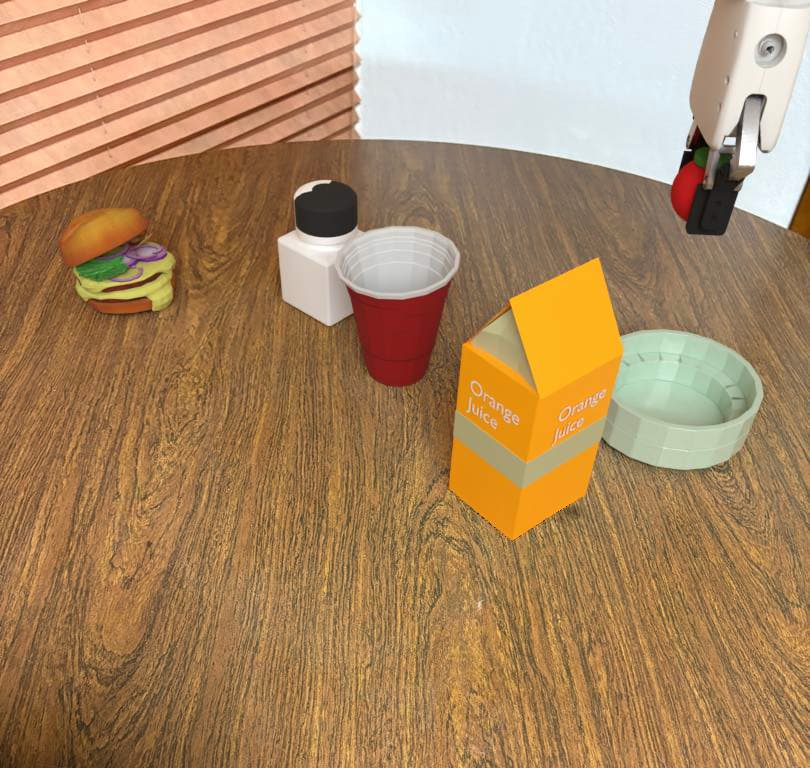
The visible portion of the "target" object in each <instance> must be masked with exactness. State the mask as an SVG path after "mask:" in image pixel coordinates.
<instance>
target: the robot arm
mask: <svg viewBox="0 0 810 768" xmlns="http://www.w3.org/2000/svg"><path fill="white" fill-rule="evenodd" d="M711 10H712V11H711V12H710V17H709V19H708V22H707V25H706V30H705V33H704V36H703V39H702V42H701V45H700V50H699V53H698V57H697V60H696V64H695V68H694V72H693V76H692V80H691V85H690V90H689V99H688V100H689V109H690V111H691V113H692V122H691V125H690V128H689V131H688V134H687V136H686V140H685V149H686V150H683V153H682V157H681V160H680V164H679V167H678V171H677V173H678V172H679V171H680V170H681V169H682V168H683V167H684V166H685V165H686V164H688V163H689V162H691V161H693V160H694V155H695V152H696V150H697V149H699V148H703V147H710V151H709V156H708V161H707V166H706V170H705V175H704V180H703V184H699V183H698V185H697V188H696V192H695V195H694V199H693V202H692V205H691V209H690V212H689V216H688V219H687V222H686V223H685V227H684V229H685V232H686V234H688V235H693V236H695V235H696V236H715V237H716V236H717V237H720V236H721V237H722V236H723V235H725V233H726V232H727V229H728V226H729V223H730V221H731V216H732V214H733V211H734V208H735V205H736V202H737V199H738V196H739V192H741V190H742V189H743V186H744V181H745V180H746V178H747V177H748V176H750V175H751V174H752V173H753V172H754V171H755V168H756V164H757V153H758V150H759V151H760V152H761V153H762V154H770V153H771V152H772V151H773V150H774V149H776V148H775V147H776V146H777V143H778V141H779V138H780V134H781V131H782V128H783V124H784V122H785V118H786V115H787V112H788V108H789V105H790V102H791V98H792V96H793V92H794V88H795V85H796V81H797V79H798V75H799V72H800V68H801V63H802V60H803V57H804V53H805V49H806V45H807V41H808V36H809V31H810V0H714V3H713V6H712V9H711ZM726 138H735V143H734V144H725V141H726ZM720 154H721V155H733V158H732V159H731V160H730V162H729V163H723V164H722V165H721V166H720V167H719V168H718V163H719V158H720ZM717 168H718V169H717Z"/></svg>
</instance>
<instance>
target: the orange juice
mask: <svg viewBox="0 0 810 768" xmlns="http://www.w3.org/2000/svg"><path fill="white" fill-rule="evenodd" d="M508 300H509V302H508V303H507V304H506V305H505V306H504V307H503V308H502V309H501V310H499V312H498V313H497V314H496V315H495V316H493V317H492V318H491V319H490V320H489V321H488V322H487V323H486V324H485V325H484V326H483V327H481V328H480V329H479V330H478V331H477V332H476V333H475V334H474V335H473V336H472V337H471V338H469V339H468V340H467V341H466V342H464V343H462V346H461V356H460V367H459V376H458V386H457V387H458V388H457V398H456V407H455V408H456V409H455V411H454V421H453V431H452V436H453V437H452V438H453V440H452V449H451V460H450V461H451V462H450V469H449V470H450V471H449V481H448V490H449V489H450V490H451V491H453V493H455V494H456V495H457V496H459V497H460V498H461V499H462V500H463V501H464V502H466V503H467V504H468V505H470V506H471V507H472V508H473V509H474V510H475V511H477V512H478V513H479V514H480V515H481V516H483V517H484V518H485V519H486V520H488V522H490V523H491V524H492V525H494V527H496V528H497V529H498V530H500V531H501V532H502V533H504V535H506V536H507V537H508V538H510V540H514V539H515V538H517V537H519V536H520V535H522V536H521V537H523V536H525V535H526V534H528V533H529V532H531V531H532V530H534V529H535V528H537V527H538V526H540V525H541V524H542V523H544V522H546V521H547V520H545V519H546V518H549V517H550V516H552V515H553V514H555V513H556V512H558V511H559V512H558V513H560V512H561V511H563V510H564V509H565V508H567V507H569V506H570V505H572V504H573V503H575V502H577V501H578V500H580V499H581V498H583V497H584V496H586V495H587V490H588V487H589V484H590V481H591V480H590V479H591V475H592V472H593V468H594V464H595V460H596V457H597V453H598V450H599V446H600V441H601V440H602V433H603V430H604V426H605V422H606V418H607V412H608V408H609V404H610V400H611V397H612V393H613V389H614V385H615V381H616V378H617V374H618V370H619V366H620V363H621V359H622V355H623V353H624V349H623V345H622V342H621V338H620V336H621V334H620V331H619V328H618V323H617V320H616V316H615V313H614V309H613V305H612V301H611V297H610V294H609V291H608V287H607V283H606V280H605V276H604V272H603V268H602V265H601V261H600V257H599V256H598V257H596V258H593V259H591V260H588V261H587V262H585V263H583V264H581V265H579V266H576V267H574V268H573V269H570V270H568V271H566V272H564V273H562V274H560V275H558V276H555V277H553V278H551V279H549V280H547V281H545V282H542V283H541V284H538V285H537V286H534V287H532V288H530V289H528V290H526V291H524V292H522V293H520V294H517V295H516V296H514V297H511V298H509V299H508ZM450 493H451V494H452V495H454V494H453V493H452V492H450ZM456 498H457V499H458V500H460V499H459V498H458V497H456ZM577 499H578V500H577ZM574 501H575V502H574ZM464 502H462V503H463V504H464V505H466V504H465V503H464ZM569 504H570V505H569ZM566 506H567V507H566ZM468 508H469V509H470V510H472V509H471V508H470V507H468ZM563 508H564V509H563ZM561 509H562V510H561ZM560 510H561V511H560ZM474 513H475V514H476V515H478V514H477V513H476V512H474ZM558 513H556V514H555V515H557V514H558ZM555 515H553V516H555ZM481 516H479V517H480V518H481V519H482V520H484V519H483V518H482V517H481ZM553 516H552V517H553ZM552 517H550V518H549V519H551V518H552ZM543 520H545V521H544V522H542V521H543ZM485 522H486V523H487V524H489V523H488V522H487V521H485ZM540 522H542V523H541V524H539V523H540ZM537 524H539V525H538V526H536V525H537ZM534 526H536V527H535V528H533V527H534ZM491 527H492V528H493V529H495V528H494V527H493V526H491ZM531 528H533V529H532V530H530V529H531ZM528 530H530V531H529V532H527V531H528ZM497 532H498V533H499V534H501V533H500V532H499V531H497ZM525 532H527V533H526V534H524V535H523V533H525ZM503 537H504V538H505V539H507V538H506V537H505V536H503ZM521 537H519V538H518V539H520V538H521ZM518 539H516V540H515V541H517V540H518ZM515 541H513V542H511V541H509V542H510V543H512V544H513V543H514V542H515Z"/></svg>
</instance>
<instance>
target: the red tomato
mask: <svg viewBox="0 0 810 768" xmlns="http://www.w3.org/2000/svg"><path fill="white" fill-rule="evenodd" d="M709 151H710V147H703V148H699V149H697V150H696V152H695V155H694V160H693V161H691V162H689V163H688V164H686V165H685V166H684V167H683V168H682V169H681V170H680V171H679V170H678V171H679V172H678V171H677V174H676V175H675V177H674V179H673V181H672V184H671V187H670V202H671V206H672V208H673V210H674V212H675V213H676V215H677V216H678V217H679V218H680V220H683V221H684V222H686V223H687V219H688V216H689V212H690V209H691V205H692V202H693V199H694V195H695V192H696V188H697V185H698V183H699V184H703V180H704V175H705V170H706V166H707V161H708V156H709ZM733 156H734V155H721V154H720V158H719V163H718V168H719V167H720V166H721V165H722V164H723V163H729V162H730V160H731V159H732V158H733ZM718 168H717V169H718Z"/></svg>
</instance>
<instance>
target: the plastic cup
mask: <svg viewBox="0 0 810 768" xmlns="http://www.w3.org/2000/svg"><path fill="white" fill-rule="evenodd" d="M364 232H365V233H363V234H361V235H358V236H356V237H354V238H352V239H350V240H349V241H348V242H347V243H346V244H345V245H344V246H343V247H342V248H341V249H340V250H339V251H338V253H337V257H336V260H335V264H334V265H335V268H336V270H337V272H338V275H339V277H340V279H341V281H342V282H343V283H344V284H345V285H346V287H347V291H348V293H349V296H350V299H351V304H352V308H353V316H354V317H353V318H354V321H355V327H356V330H357V335H358V339H359V342H360V344H361V349H362V354H363V359H364V364H365V366H366V369H367V371H368V374H369V376H370V377H371V378H372V379H373V380H375V381H376V382H377V383H380V384H382V383H383V384H382V385H385V386H387V385H389V386H388V387H398V388H400V387H405V386H411V385H413V384H416V383H417V382H419V381H421V380H422V379H423V378H424V376H425V375H426V374H427V373H426V372H427V370H429V365H430V362H431V356H432V354H433V353H432V352H433V349H434V348H435V344H436V340H437V336H438V332H439V328H440V323H441V320H442V316H443V312H444V307H445V303H446V299H447V298H448V295H449V291H450V288H451V285H452V281H453V280H454V279H453V278H454V277H455V276H456V275H457V273H458V270H459V266H460V260H461V253H460V251H459V249H458V247H457V246H456V245H455V243H454V241H453V240H451V239H450V238H448V237H446V236H445V235H443V234H442V233H441V232H439V231H436V230H432V229H428V228H424V227H421V226H415V225H412V226H411V225H390V226H385V227H380V228H374V229H369V230H367V231H364Z"/></svg>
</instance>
